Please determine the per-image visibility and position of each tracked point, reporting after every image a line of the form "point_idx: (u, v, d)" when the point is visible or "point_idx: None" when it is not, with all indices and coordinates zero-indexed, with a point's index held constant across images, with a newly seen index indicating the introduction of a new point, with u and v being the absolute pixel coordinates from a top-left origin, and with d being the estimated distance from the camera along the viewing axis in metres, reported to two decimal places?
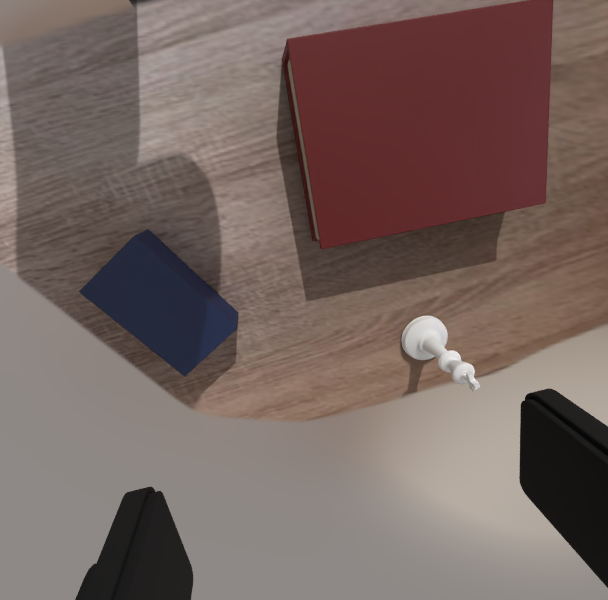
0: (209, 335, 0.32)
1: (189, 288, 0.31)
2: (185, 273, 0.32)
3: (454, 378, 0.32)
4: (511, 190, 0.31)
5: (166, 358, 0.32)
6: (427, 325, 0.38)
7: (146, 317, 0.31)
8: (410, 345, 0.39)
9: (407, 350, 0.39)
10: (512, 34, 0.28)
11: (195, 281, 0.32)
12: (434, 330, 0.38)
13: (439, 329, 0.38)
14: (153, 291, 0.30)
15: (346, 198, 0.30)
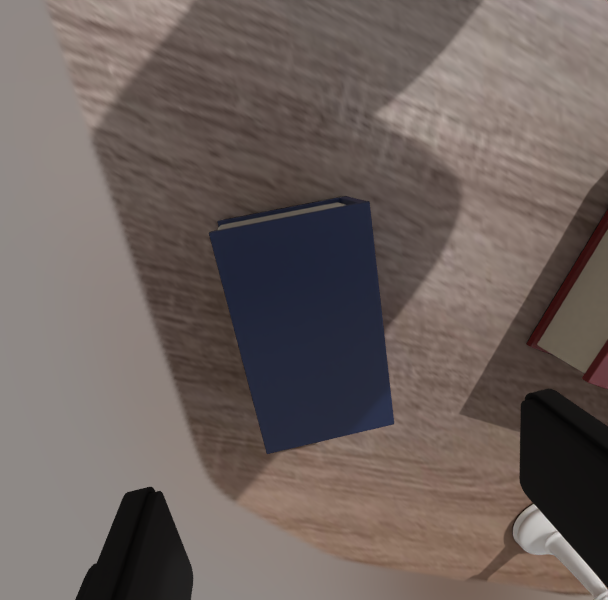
0: (349, 414, 0.18)
1: (379, 331, 0.17)
2: None
3: None
4: None
5: (262, 414, 0.17)
6: None
7: (281, 335, 0.16)
8: (531, 531, 0.27)
9: (522, 534, 0.27)
10: None
11: None
12: None
13: None
14: (325, 304, 0.16)
15: None
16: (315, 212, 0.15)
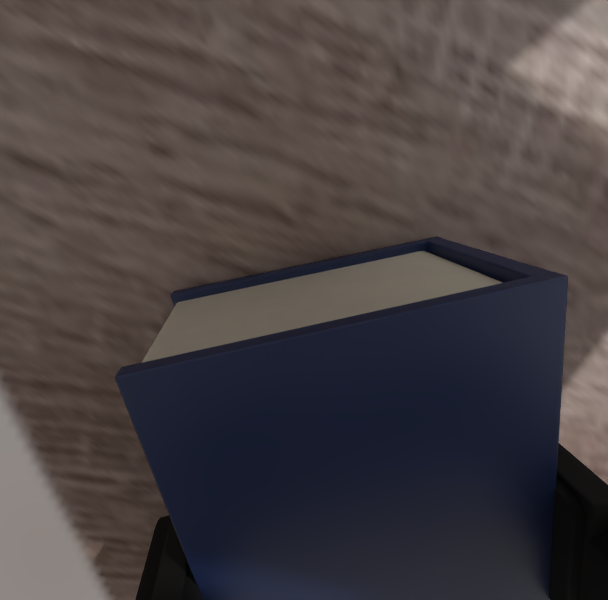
0: None
1: (542, 559, 0.07)
2: None
3: None
4: None
5: None
6: None
7: (315, 585, 0.07)
8: None
9: None
10: None
11: None
12: None
13: None
14: (428, 518, 0.06)
15: None
16: (421, 309, 0.05)
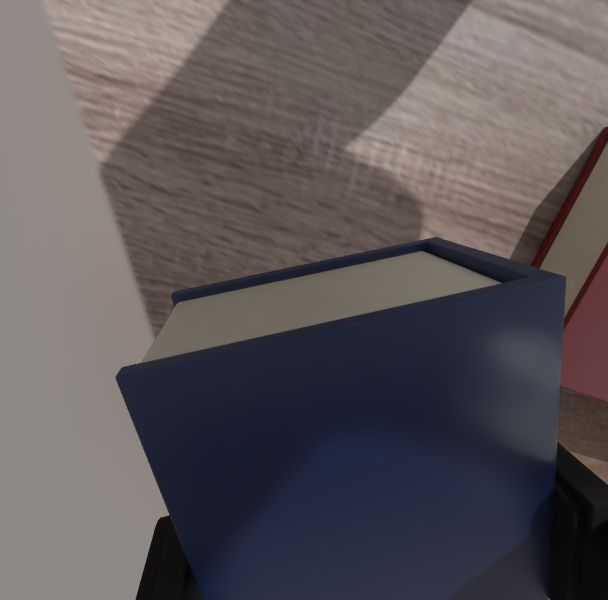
0: None
1: (541, 558, 0.07)
2: None
3: None
4: None
5: None
6: None
7: (314, 585, 0.07)
8: None
9: None
10: None
11: None
12: None
13: None
14: (427, 518, 0.06)
15: (603, 335, 0.21)
16: (420, 309, 0.05)
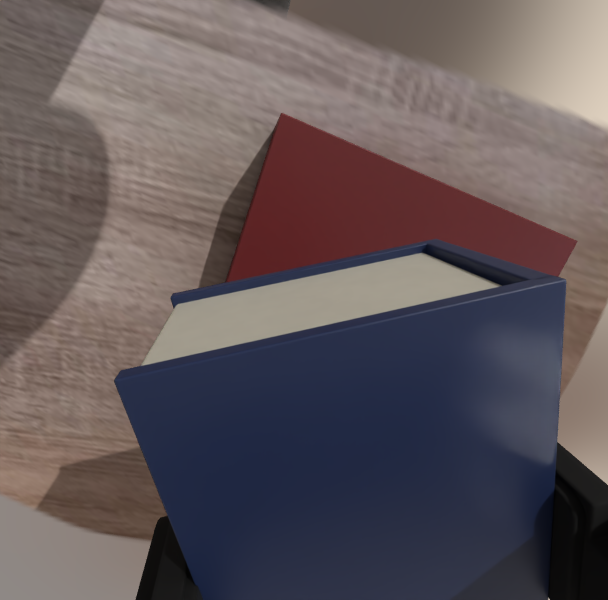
0: None
1: (541, 561, 0.07)
2: None
3: None
4: None
5: None
6: None
7: (314, 588, 0.07)
8: None
9: None
10: (522, 254, 0.23)
11: None
12: None
13: None
14: (427, 521, 0.06)
15: None
16: (420, 312, 0.05)
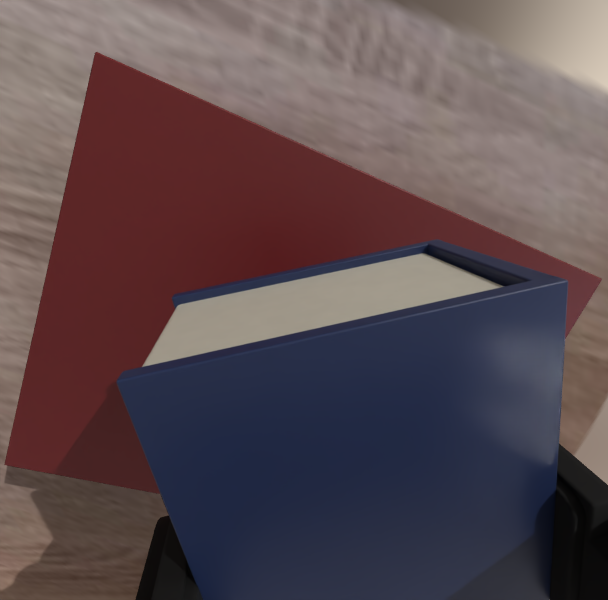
0: None
1: (542, 562, 0.07)
2: None
3: None
4: None
5: None
6: None
7: (316, 588, 0.07)
8: None
9: None
10: None
11: None
12: None
13: None
14: (429, 522, 0.06)
15: (98, 403, 0.14)
16: (422, 313, 0.05)
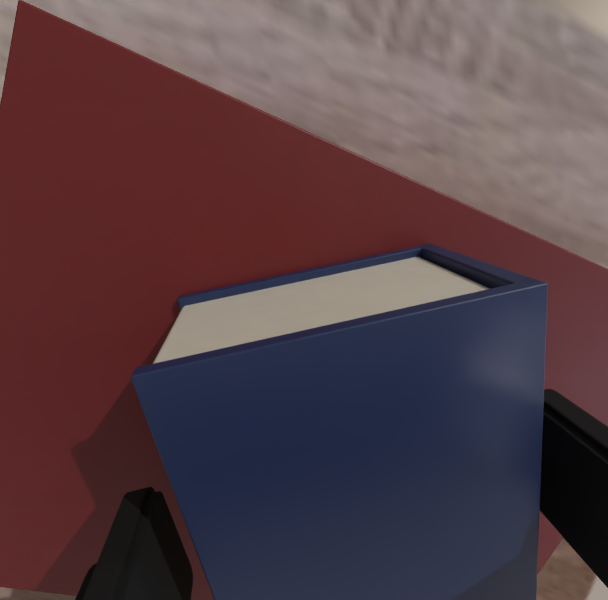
0: None
1: (529, 549, 0.08)
2: None
3: None
4: None
5: None
6: None
7: (314, 573, 0.07)
8: None
9: None
10: None
11: None
12: None
13: None
14: (421, 509, 0.07)
15: (45, 495, 0.10)
16: (412, 313, 0.06)
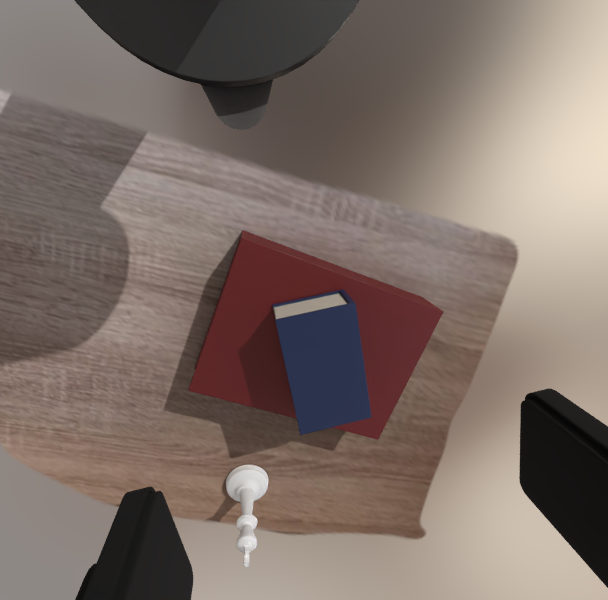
0: (346, 412, 0.32)
1: (362, 366, 0.31)
2: None
3: (237, 544, 0.36)
4: None
5: (298, 412, 0.32)
6: (253, 476, 0.42)
7: (309, 370, 0.31)
8: (231, 485, 0.42)
9: (227, 487, 0.43)
10: (405, 320, 0.35)
11: None
12: (256, 482, 0.42)
13: (261, 483, 0.43)
14: (333, 353, 0.30)
15: (228, 364, 0.34)
16: (328, 309, 0.29)
